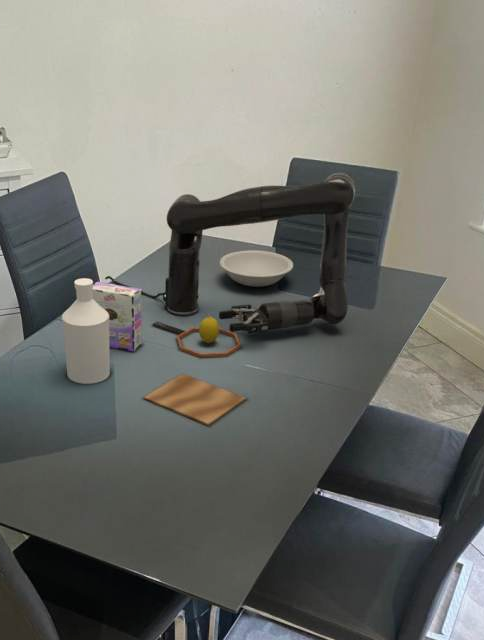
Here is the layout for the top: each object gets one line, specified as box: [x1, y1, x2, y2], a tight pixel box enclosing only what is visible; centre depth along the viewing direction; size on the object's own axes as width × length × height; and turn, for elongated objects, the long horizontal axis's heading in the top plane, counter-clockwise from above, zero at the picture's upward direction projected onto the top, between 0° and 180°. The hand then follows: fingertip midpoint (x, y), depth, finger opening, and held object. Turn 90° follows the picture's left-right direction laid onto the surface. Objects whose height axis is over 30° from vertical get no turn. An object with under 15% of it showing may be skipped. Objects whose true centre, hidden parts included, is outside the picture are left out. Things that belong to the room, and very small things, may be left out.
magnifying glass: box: [152, 321, 242, 358], centre depth 213 cm, size 28×17×1 cm, turn 50°
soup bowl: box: [219, 249, 294, 288], centre depth 244 cm, size 24×24×7 cm
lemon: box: [198, 316, 220, 344], centre depth 208 cm, size 6×6×8 cm
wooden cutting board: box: [143, 373, 247, 426], centre depth 186 cm, size 20×16×1 cm
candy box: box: [92, 281, 143, 352], centre depth 205 cm, size 14×6×16 cm, turn 65°
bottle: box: [61, 277, 111, 385], centre depth 189 cm, size 12×12×25 cm
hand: (224, 321), depth 208 cm, fingers open, 8 cm apart
